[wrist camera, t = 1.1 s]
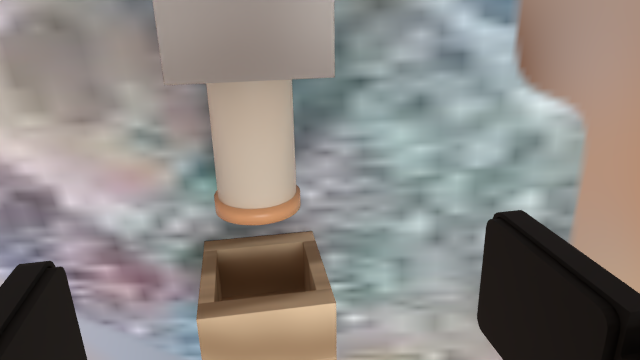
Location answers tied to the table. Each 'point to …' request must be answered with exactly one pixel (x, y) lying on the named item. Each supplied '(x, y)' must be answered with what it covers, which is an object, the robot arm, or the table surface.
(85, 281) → the table surface
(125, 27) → the table surface
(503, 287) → the robot arm
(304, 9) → the grey block
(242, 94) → the tube
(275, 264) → the socket
